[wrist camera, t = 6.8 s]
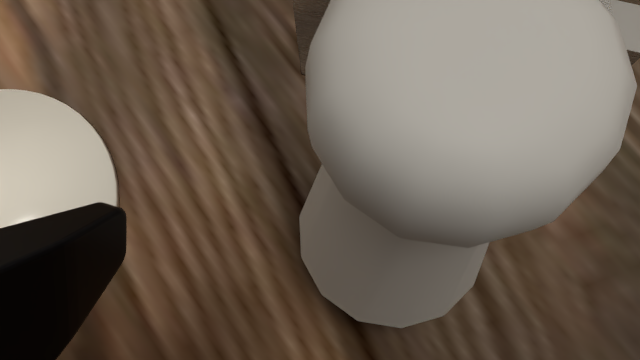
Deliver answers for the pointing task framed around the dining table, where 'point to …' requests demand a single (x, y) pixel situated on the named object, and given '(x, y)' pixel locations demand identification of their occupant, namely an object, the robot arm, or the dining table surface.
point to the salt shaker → (450, 139)
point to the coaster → (49, 159)
